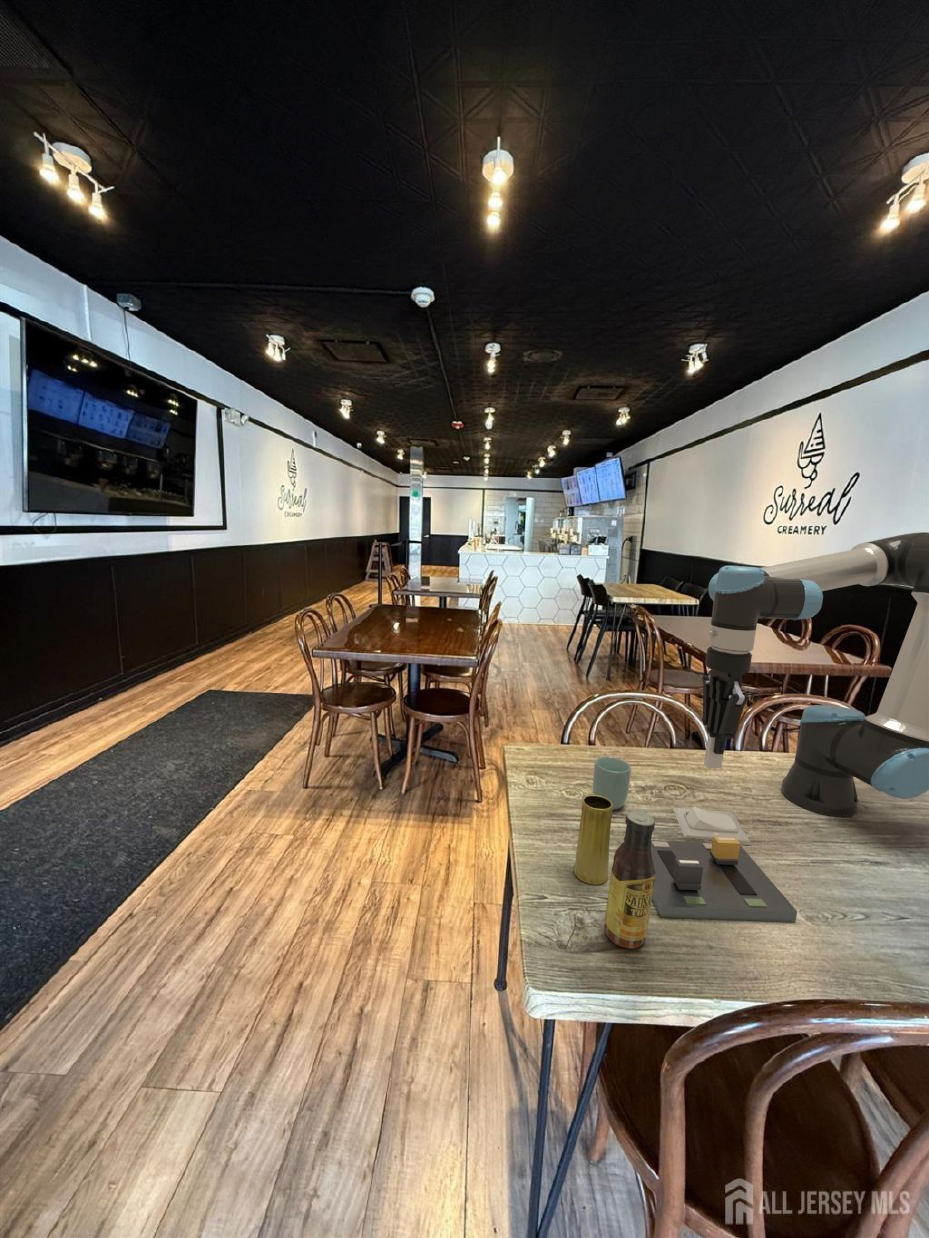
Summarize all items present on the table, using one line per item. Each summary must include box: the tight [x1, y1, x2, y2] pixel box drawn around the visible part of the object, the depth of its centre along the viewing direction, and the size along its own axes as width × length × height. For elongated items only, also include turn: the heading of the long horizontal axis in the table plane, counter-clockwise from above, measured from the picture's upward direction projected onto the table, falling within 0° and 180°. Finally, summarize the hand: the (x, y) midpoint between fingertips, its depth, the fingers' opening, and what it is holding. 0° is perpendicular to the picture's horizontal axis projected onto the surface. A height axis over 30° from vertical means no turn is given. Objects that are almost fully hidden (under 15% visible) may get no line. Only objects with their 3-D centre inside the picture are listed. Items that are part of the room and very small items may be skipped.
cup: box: [592, 756, 632, 811], centre depth 115 cm, size 8×8×10 cm
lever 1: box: [672, 859, 703, 890], centre depth 87 cm, size 4×3×4 cm
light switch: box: [673, 806, 752, 846], centre depth 109 cm, size 11×4×13 cm
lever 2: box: [710, 836, 740, 865], centre depth 94 cm, size 4×3×4 cm
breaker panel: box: [651, 839, 798, 923], centre depth 91 cm, size 22×18×2 cm
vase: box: [573, 793, 614, 885], centre depth 91 cm, size 6×6×14 cm
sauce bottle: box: [604, 810, 656, 950], centre depth 77 cm, size 7×6×20 cm
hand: (712, 766), depth 99 cm, fingers closed
